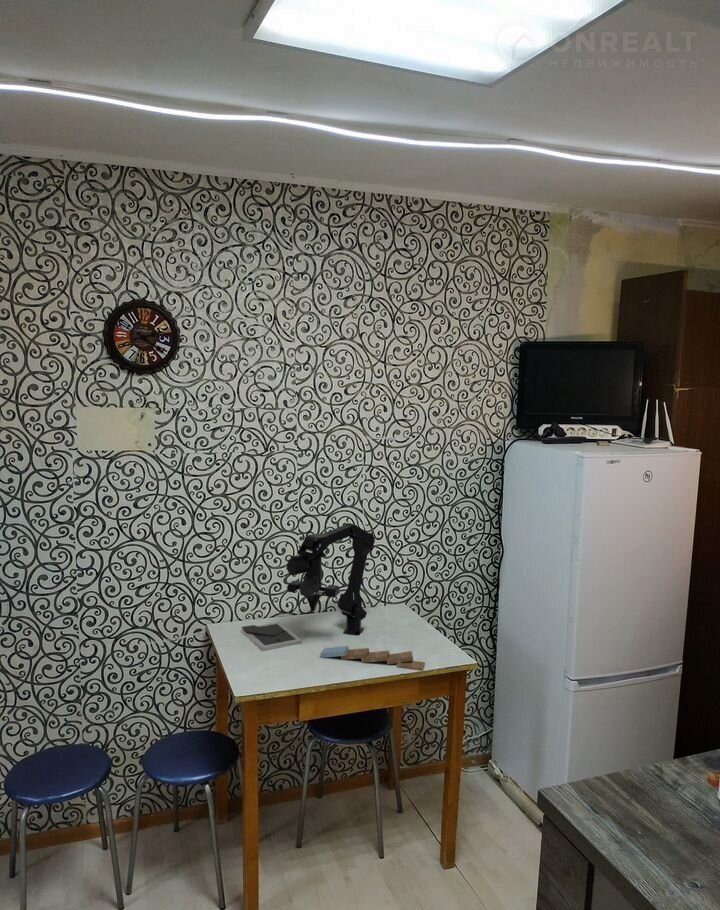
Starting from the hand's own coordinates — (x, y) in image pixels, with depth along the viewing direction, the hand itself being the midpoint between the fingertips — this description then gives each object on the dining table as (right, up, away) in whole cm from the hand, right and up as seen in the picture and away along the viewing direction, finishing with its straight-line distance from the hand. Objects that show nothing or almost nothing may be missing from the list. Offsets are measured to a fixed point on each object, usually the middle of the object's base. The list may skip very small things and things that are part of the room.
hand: (313, 611), depth 258 cm
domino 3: (+18, -14, -10) cm, 25 cm away
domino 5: (+30, -15, -13) cm, 37 cm away
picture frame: (-16, -13, +8) cm, 22 cm away
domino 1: (+4, -13, -7) cm, 15 cm away
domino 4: (+27, -14, -12) cm, 32 cm away
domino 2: (+11, -14, -8) cm, 19 cm away
